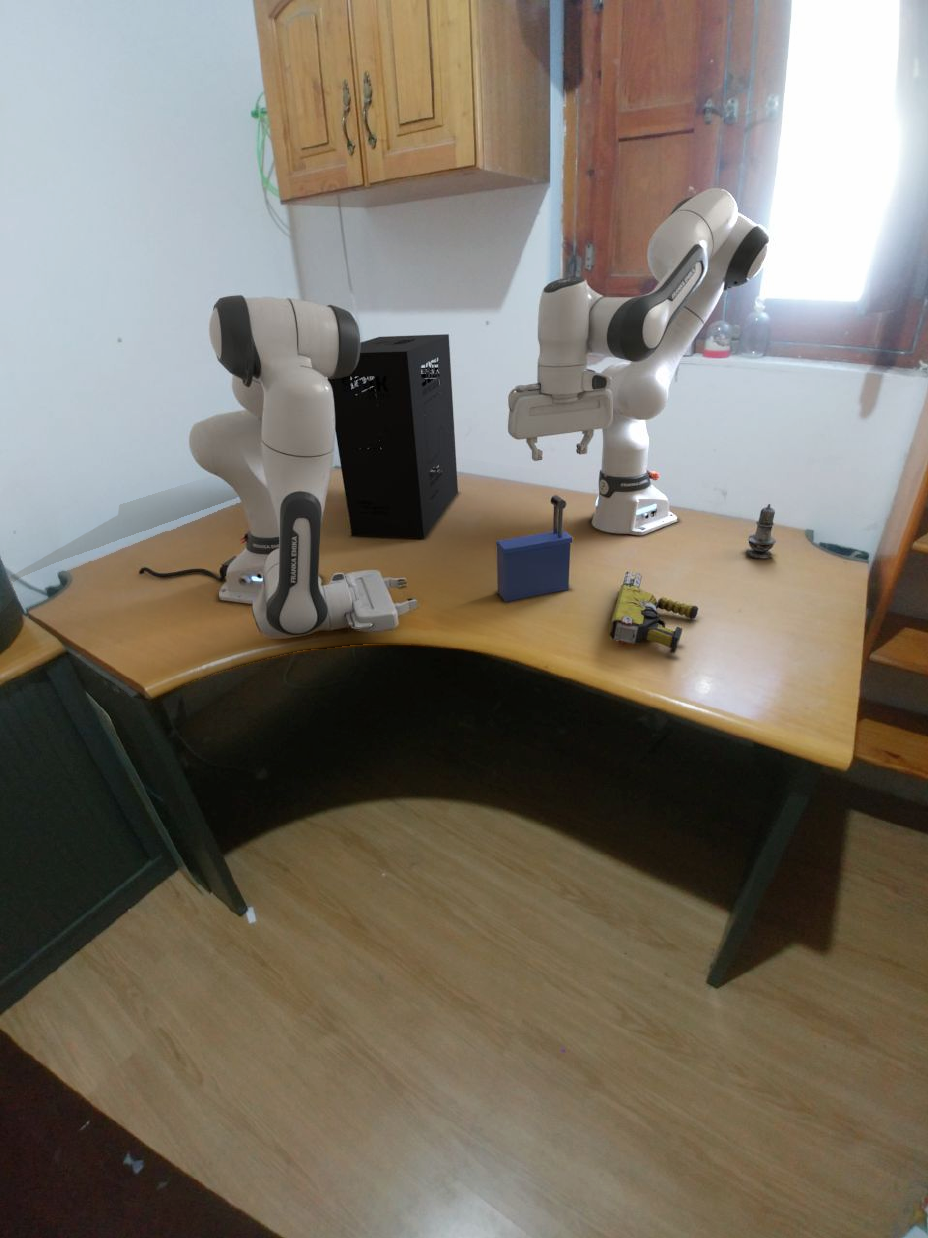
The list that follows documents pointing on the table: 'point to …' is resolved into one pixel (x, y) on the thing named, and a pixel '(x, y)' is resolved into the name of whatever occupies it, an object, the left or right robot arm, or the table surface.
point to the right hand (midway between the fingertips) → (559, 456)
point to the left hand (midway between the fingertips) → (411, 592)
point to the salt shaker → (762, 535)
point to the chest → (533, 572)
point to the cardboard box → (397, 436)
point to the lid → (543, 538)
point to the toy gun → (645, 616)
